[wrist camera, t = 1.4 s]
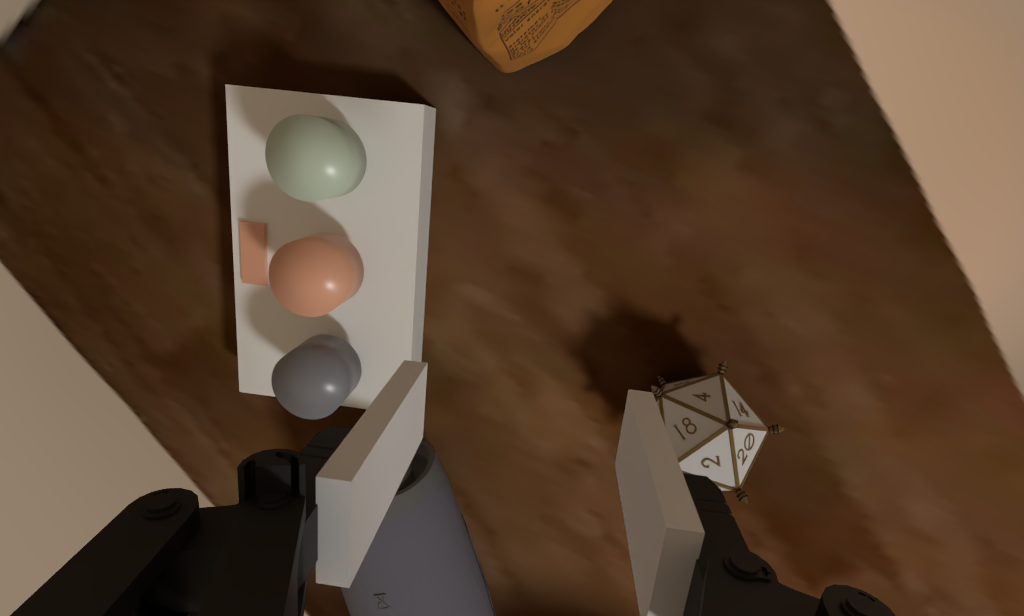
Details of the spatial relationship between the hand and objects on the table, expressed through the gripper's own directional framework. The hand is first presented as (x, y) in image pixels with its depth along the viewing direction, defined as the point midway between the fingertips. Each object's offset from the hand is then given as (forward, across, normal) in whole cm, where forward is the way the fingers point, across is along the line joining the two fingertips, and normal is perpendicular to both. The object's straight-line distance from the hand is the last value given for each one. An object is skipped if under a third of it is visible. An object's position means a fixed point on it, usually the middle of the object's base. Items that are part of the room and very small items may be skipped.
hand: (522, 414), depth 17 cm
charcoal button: (+15, +13, +6) cm, 21 cm away
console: (+20, +14, 0) cm, 24 cm away
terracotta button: (+15, +13, 0) cm, 20 cm away
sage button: (+15, +13, -6) cm, 21 cm away
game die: (+20, -11, +8) cm, 24 cm away
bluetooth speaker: (+20, +6, +24) cm, 32 cm away
